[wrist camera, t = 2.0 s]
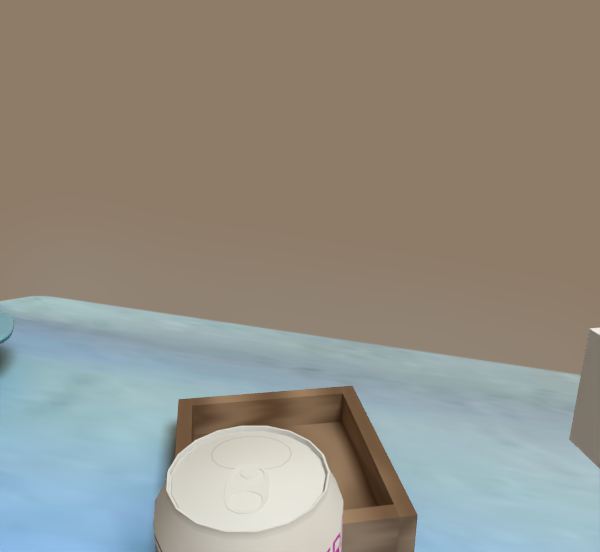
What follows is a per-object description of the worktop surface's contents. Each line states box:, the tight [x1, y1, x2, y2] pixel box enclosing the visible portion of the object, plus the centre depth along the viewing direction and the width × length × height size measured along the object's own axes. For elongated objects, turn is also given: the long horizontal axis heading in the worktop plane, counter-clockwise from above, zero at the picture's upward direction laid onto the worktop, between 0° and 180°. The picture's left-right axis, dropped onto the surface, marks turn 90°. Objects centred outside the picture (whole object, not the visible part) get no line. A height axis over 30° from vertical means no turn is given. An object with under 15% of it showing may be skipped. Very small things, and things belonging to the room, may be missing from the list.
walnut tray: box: [175, 386, 417, 552], centre depth 44 cm, size 16×17×4 cm
